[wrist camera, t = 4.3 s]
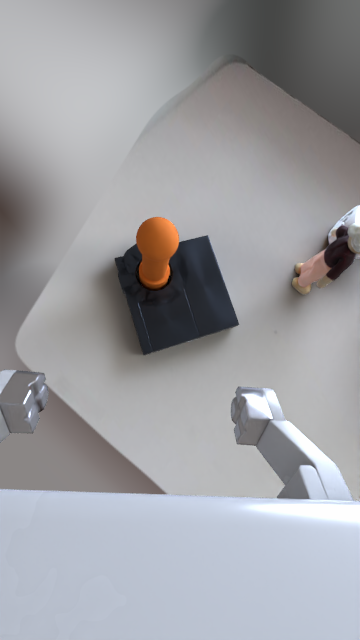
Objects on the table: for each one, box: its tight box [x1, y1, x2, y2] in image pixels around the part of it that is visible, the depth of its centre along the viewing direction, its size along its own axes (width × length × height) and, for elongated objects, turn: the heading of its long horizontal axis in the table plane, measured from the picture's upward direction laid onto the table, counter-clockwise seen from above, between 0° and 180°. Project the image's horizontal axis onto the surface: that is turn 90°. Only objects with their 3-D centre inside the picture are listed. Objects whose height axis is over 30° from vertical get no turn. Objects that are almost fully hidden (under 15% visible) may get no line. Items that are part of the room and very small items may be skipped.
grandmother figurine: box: [292, 221, 360, 295], centre depth 31 cm, size 8×4×13 cm, turn 172°
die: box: [328, 206, 360, 259], centre depth 37 cm, size 5×5×5 cm
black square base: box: [115, 235, 239, 355], centre depth 34 cm, size 12×13×2 cm
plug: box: [136, 217, 179, 291], centre depth 29 cm, size 4×4×12 cm
